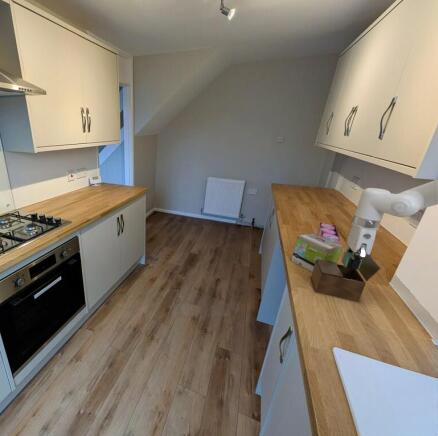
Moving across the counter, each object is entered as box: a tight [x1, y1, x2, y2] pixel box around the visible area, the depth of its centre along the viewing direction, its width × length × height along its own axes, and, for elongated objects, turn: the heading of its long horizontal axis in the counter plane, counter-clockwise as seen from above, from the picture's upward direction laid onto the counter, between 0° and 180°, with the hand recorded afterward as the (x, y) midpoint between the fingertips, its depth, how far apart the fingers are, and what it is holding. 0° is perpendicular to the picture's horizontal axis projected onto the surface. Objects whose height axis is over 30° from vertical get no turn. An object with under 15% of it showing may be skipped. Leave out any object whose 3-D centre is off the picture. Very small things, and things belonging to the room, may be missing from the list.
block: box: [341, 251, 363, 270], centre depth 93 cm, size 4×4×4 cm
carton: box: [310, 259, 367, 303], centre depth 97 cm, size 14×12×10 cm
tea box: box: [291, 232, 343, 273], centre depth 113 cm, size 15×10×15 cm, turn 21°
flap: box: [357, 254, 381, 282], centre depth 91 cm, size 7×12×1 cm
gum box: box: [316, 222, 341, 245], centre depth 127 cm, size 24×8×14 cm, turn 147°
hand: (350, 264), depth 93 cm, fingers closed on block, 4 cm apart
